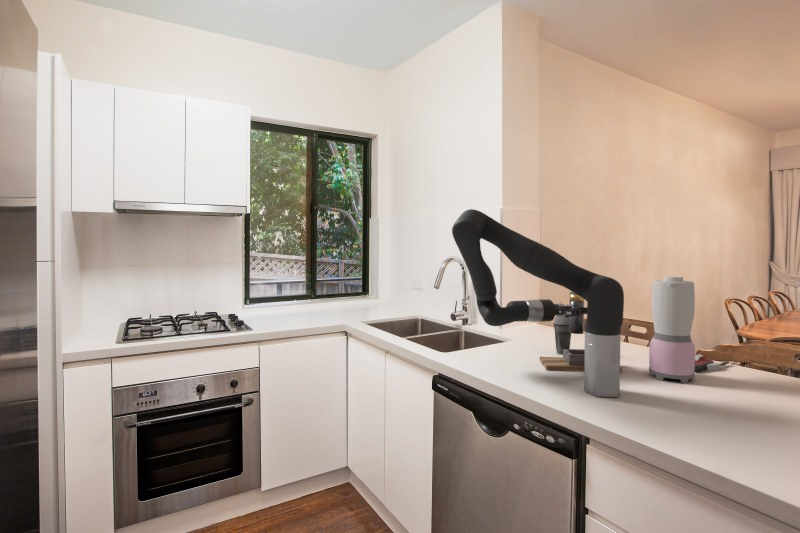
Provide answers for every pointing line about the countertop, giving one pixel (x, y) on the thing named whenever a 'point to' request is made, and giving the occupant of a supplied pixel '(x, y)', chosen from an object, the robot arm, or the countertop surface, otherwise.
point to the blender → (672, 329)
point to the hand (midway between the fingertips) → (583, 309)
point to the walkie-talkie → (706, 364)
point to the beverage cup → (562, 333)
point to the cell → (576, 321)
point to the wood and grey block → (566, 361)
